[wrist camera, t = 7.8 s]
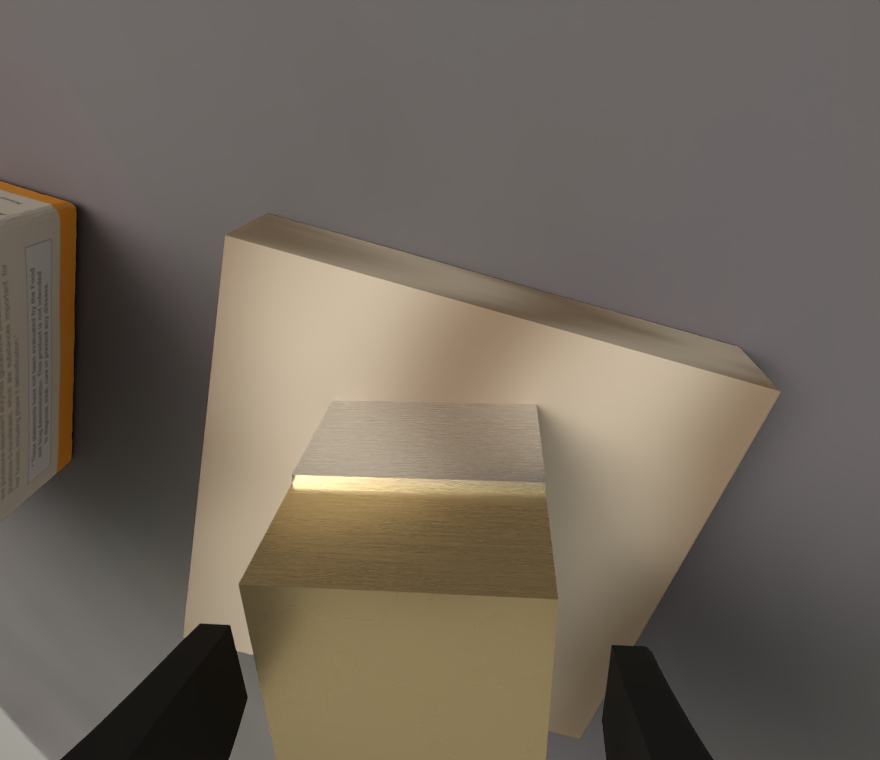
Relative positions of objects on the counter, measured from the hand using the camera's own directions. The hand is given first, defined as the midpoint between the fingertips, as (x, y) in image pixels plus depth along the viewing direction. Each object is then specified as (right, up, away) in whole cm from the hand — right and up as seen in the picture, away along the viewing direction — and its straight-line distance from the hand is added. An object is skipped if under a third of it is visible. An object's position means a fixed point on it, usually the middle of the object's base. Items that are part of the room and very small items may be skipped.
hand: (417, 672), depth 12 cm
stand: (+1, +3, +6) cm, 7 cm away
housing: (0, +2, +4) cm, 4 cm away
